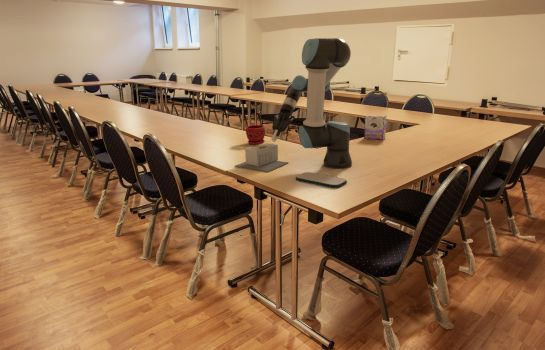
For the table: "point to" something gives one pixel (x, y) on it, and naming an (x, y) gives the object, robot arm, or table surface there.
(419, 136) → the table surface
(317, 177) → the external hard drive
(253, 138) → the plant pot
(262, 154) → the supplement box
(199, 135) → the table surface
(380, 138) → the candy box
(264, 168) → the grey rubber mat
